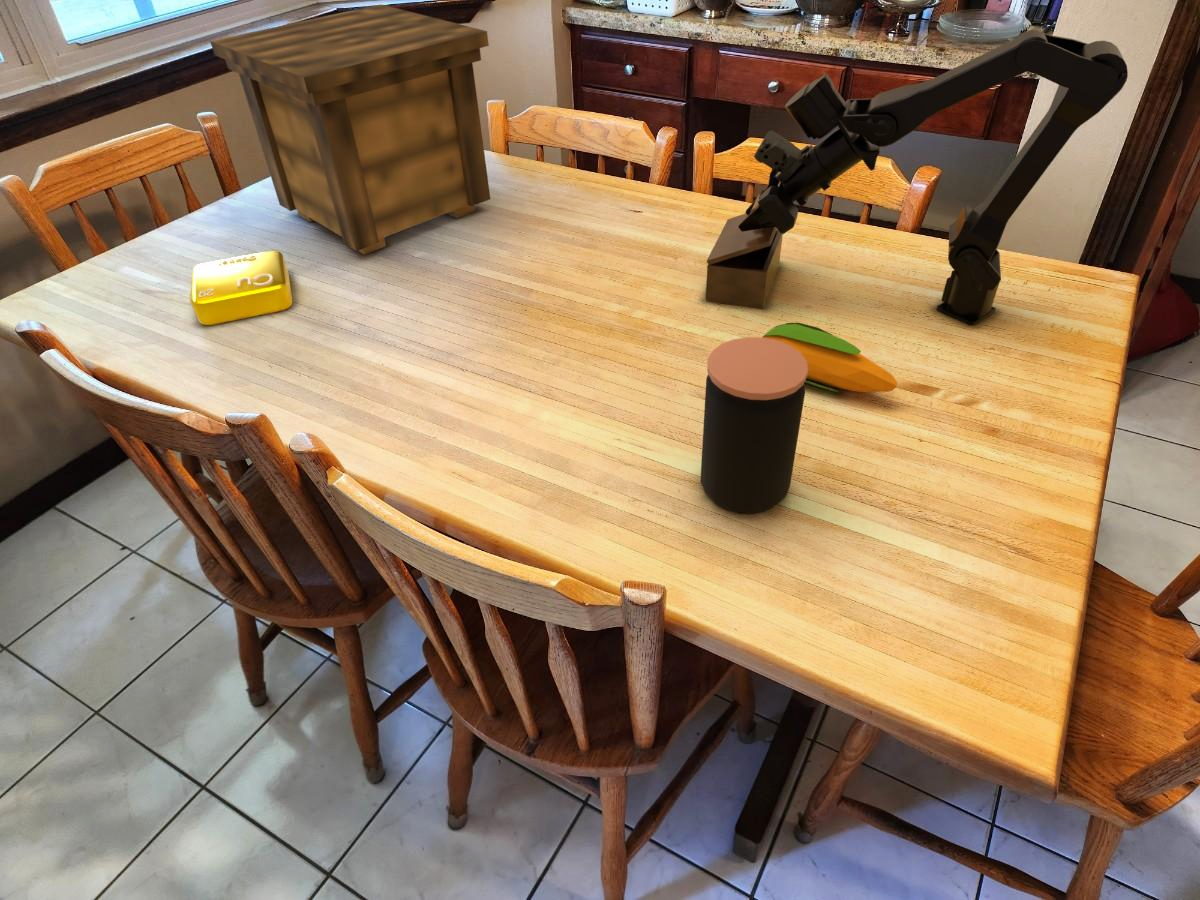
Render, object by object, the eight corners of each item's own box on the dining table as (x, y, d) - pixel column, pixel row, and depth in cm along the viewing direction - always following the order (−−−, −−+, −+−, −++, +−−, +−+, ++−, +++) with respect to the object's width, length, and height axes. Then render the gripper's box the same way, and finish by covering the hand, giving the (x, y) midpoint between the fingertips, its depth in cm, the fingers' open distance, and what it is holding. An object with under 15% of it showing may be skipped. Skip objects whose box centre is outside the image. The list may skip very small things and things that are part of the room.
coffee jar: (778, 455, 100) (796, 333, 88) (797, 515, 92) (819, 390, 80) (694, 460, 100) (700, 338, 88) (706, 520, 92) (714, 396, 80)
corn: (777, 302, 113) (915, 345, 104) (774, 345, 119) (904, 390, 109) (752, 328, 109) (892, 375, 100) (749, 372, 115) (882, 420, 105)
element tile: (288, 269, 143) (280, 245, 140) (293, 309, 133) (285, 283, 130) (200, 286, 140) (190, 262, 137) (199, 328, 129) (188, 302, 126)
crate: (267, 216, 162) (210, 40, 140) (412, 166, 179) (380, 4, 158) (355, 271, 142) (303, 77, 121) (508, 209, 159) (487, 31, 138)
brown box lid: (787, 203, 131) (777, 177, 128) (770, 245, 120) (759, 217, 117) (729, 223, 136) (719, 198, 134) (708, 265, 125) (696, 238, 123)
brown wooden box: (779, 264, 138) (783, 229, 134) (762, 309, 127) (766, 273, 123) (726, 257, 140) (728, 223, 136) (705, 301, 129) (707, 265, 125)
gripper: (803, 97, 121) (724, 160, 131) (782, 140, 108) (697, 206, 118) (845, 155, 124) (765, 212, 134) (830, 203, 111) (743, 262, 121)
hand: (743, 221), depth 127 cm, fingers closed on brown box lid, 5 cm apart
